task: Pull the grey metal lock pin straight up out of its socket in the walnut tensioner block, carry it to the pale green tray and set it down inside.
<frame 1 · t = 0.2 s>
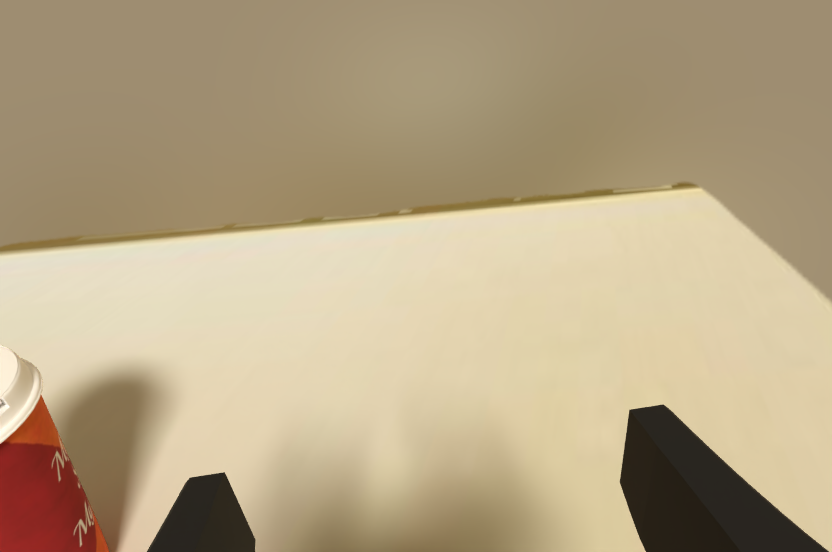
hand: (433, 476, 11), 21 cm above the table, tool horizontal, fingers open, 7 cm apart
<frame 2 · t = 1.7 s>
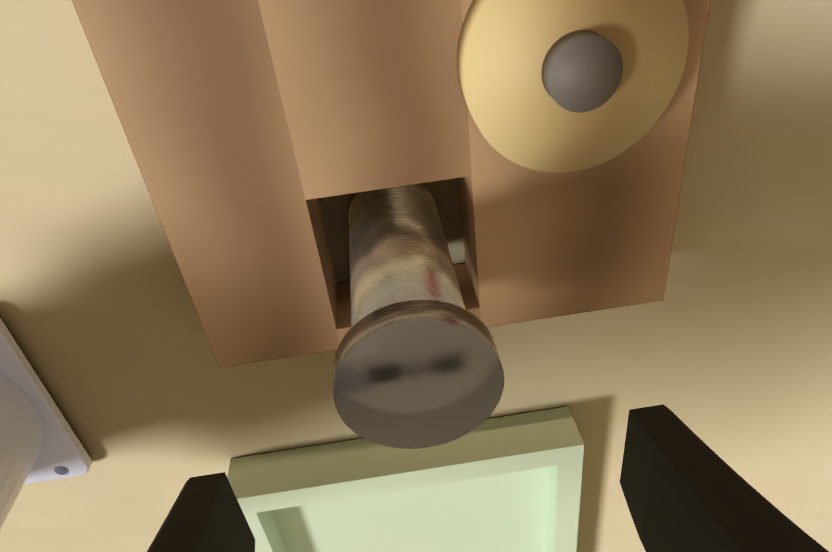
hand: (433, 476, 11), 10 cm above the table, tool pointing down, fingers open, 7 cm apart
tensioner block: (413, 120, 17), on the table
tray: (418, 530, 29), on the table
pin: (393, 215, 19), resting in tensioner block
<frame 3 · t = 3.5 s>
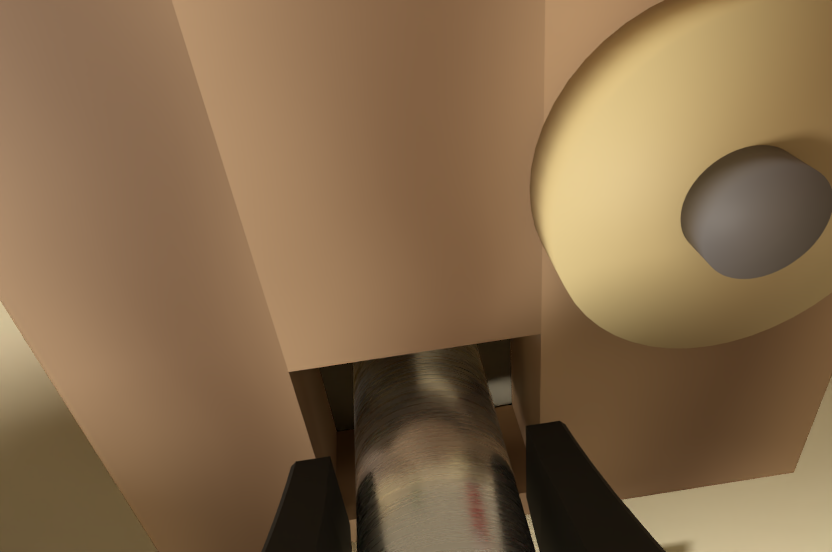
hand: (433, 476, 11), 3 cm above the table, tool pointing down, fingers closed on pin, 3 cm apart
tensioner block: (448, 232, 12), on the table
pin: (414, 351, 14), resting in tensioner block, touching gripper
when the fingers open (5 cm above the table, at t = 7.1 s): pin stays where it is, resting on tray.
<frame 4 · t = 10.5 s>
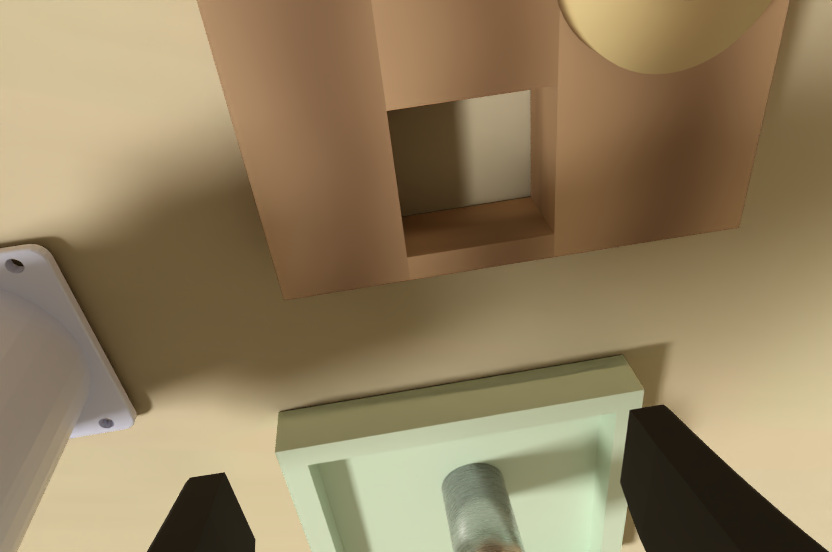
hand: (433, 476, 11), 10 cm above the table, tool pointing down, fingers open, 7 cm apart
tensioner block: (488, 37, 17), on the table
tray: (464, 491, 28), on the table
pin: (472, 484, 27), point 1 cm above the table, touching tray
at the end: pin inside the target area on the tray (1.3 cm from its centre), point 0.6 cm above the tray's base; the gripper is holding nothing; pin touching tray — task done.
